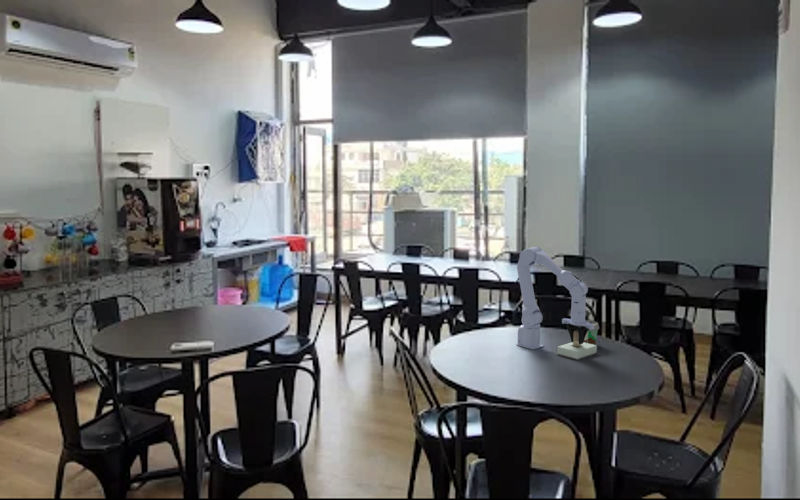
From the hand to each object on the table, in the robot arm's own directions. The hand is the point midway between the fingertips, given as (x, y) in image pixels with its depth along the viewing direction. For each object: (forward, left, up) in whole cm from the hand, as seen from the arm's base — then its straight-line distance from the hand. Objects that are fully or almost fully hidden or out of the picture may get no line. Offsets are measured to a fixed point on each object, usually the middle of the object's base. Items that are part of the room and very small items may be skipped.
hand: (577, 342), depth 268 cm
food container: (-4, +17, -5) cm, 18 cm away
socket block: (0, 0, -5) cm, 5 cm away
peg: (0, 0, -3) cm, 3 cm away
